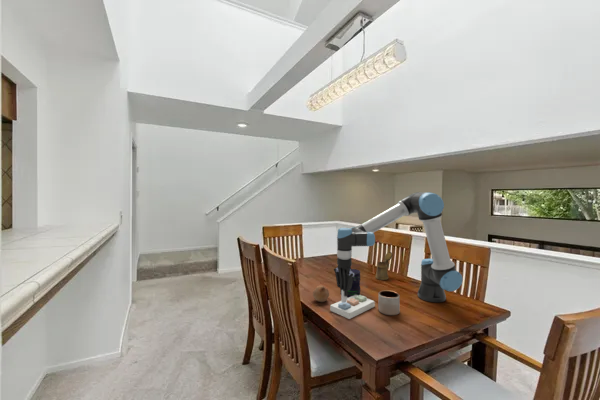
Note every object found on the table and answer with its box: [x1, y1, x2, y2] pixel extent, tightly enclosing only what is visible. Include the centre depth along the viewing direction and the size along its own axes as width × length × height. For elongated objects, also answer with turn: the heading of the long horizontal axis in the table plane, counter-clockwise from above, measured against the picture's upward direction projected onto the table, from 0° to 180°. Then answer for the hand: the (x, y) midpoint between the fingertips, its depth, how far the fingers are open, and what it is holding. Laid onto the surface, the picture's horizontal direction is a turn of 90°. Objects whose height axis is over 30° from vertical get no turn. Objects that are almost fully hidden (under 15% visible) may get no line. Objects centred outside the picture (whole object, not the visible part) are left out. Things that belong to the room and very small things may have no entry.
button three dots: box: [347, 298, 359, 306], centre depth 154 cm, size 5×5×3 cm
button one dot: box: [338, 302, 351, 310], centre depth 150 cm, size 5×5×3 cm
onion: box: [312, 285, 330, 303], centre depth 165 cm, size 10×9×10 cm
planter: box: [377, 289, 401, 316], centre depth 150 cm, size 11×11×10 cm
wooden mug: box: [375, 251, 393, 281], centre depth 204 cm, size 9×14×18 cm, turn 118°
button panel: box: [329, 295, 376, 320], centre depth 154 cm, size 13×22×3 cm, turn 131°
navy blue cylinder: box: [347, 268, 361, 298], centre depth 173 cm, size 10×10×15 cm
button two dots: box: [355, 294, 368, 302], centre depth 159 cm, size 5×5×3 cm
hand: (344, 301), depth 150 cm, fingers closed
